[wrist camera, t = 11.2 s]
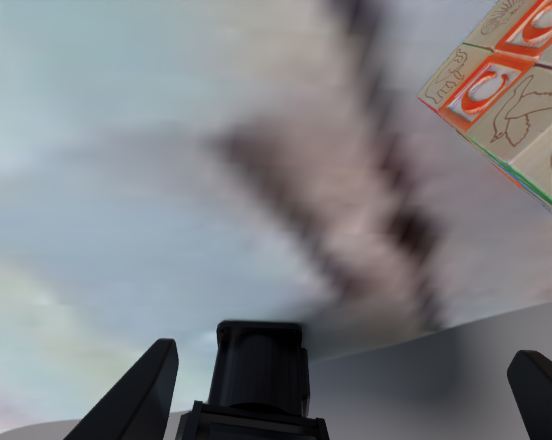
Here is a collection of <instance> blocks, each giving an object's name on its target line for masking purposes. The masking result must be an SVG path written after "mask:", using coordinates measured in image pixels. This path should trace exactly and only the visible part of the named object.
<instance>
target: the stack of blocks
mask: <svg viewBox="0 0 552 440" xmlns="http://www.w3.org/2000/svg"><path fill="white" fill-rule="evenodd" d="M417 98H418V99H420V100H421V101H422V102H423V103H425V104H426V105H427V106H428V107H429V108H431V109H432V110H433V111H434V112H435V113H437V114H438V115H439V116H440V117H441V118H443V119H444V120H445V121H446V122H447V123H449V124H450V125H451V126H452V127H453V128H455V129H456V133H457V134H459V135H460V136H461V137H462V138H463V139H464V140H466V141H467V142H468V143H469V144H470V145H471V146H473V147H474V148H475V149H476V150H477V151H478V152H480V153H481V154H482V155H483V156H484V157H485V158H487V159H488V160H489V161H490V162H491V163H492V164H493V165H495V166H496V167H497V168H498V169H499V170H500V171H502V172H503V173H504V174H505V175H506V176H507V177H509V178H510V179H511V180H512V181H513V182H514V183H516V184H517V185H518V186H519V187H520V188H521V189H523V190H524V191H526V192H527V193H528V194H529V195H531V196H532V197H533V198H535V199H536V200H537V201H539V202H540V203H541V204H542V205H543V206H544V207H545V208H546V209H548V210H549V211H550V212H551V213H552V0H500V1H499V2H498V3H497V4H496V5H495V6H494V8H493V9H492V10H491V11H490V12H489V13H488V14H487V16H486V17H485V18H484V19H483V20H482V21H481V22H480V24H479V25H478V26H477V27H476V28H475V29H474V30H473V31H472V33H471V34H470V35H469V36H468V37H467V38H466V39H465V41H464V42H463V44H461V45H460V46H459V47H458V48H457V49H456V50H455V51H454V52H453V53H452V54H451V56H450V57H449V58H448V59H447V60H446V61H445V62H444V63H443V65H442V66H441V67H440V68H439V69H438V70H437V72H436V73H435V74H434V75H433V76H432V77H431V79H430V80H429V81H428V82H427V83H426V85H425V86H424V87H423V88H422V90H421V91H420V92H419V94H418V95H417Z"/></svg>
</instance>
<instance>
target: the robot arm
mask: <svg viewBox="0 0 552 440" xmlns="http://www.w3.org/2000/svg"><path fill="white" fill-rule="evenodd" d="M294 331H297V332H294ZM216 332H217V343H218V352H217V357H216V362H215V367H214V372H213V378H212V383H211V388H210V393H209V398H208V403H207V404H206V403H203V401H196V400H195V401H194V405H193V409H192V411H190V412H188V413H186V414H184V415H181V418H180V423H179V427H178V431H177V434H176V438H175V440H330V439H329V435H328V431H327V427H326V423H325V420H324V419H323V418H316V419H312V418H306V417H307V416H308V411H309V402H310V385H309V370H308V355H307V350H306V349H305V348H302V347H301V341H302V328H301V327H300V326H299V325H287V324H255V323H219V324H218V326H217V331H216ZM178 365H179V359H178V353H177V347H176V342H175V340H174V339H167V338H161V339H158V340H157V341H156V342H155V343H154V344H153V345H152V346H151V347H150V348H149V349H148V350H147V351H146V352H145V353H144V354H143V355H142V357H141V358H140V359H139V360H138V361H137V362H136V363H135V364H134V365H133V366H132V367H131V368H130V369H129V370H128V371H127V372H126V373H125V374H124V376H123V377H122V378H121V379H120V380H119V381H118V382H117V383H116V384H115V385H114V386H113V387H112V388H111V389H110V390H109V391H108V392H107V394H106V395H105V396H104V397H103V398H102V399H101V400H100V401H99V402H98V403H97V404H96V405H95V406H94V407H93V408H92V409H91V410H90V412H89V413H88V414H87V415H86V416H85V417H84V418H83V419H82V420H81V421H80V422H79V423H78V424H77V425H76V426H75V427H74V429H73V430H72V431H71V432H70V433H69V434H68V435H67V436H66V437H65V438H64V439H63V440H163V437H164V434H165V430H166V426H167V421H168V417H169V412H170V407H171V402H172V397H173V392H174V386H175V381H176V376H177V371H178ZM507 377H508V381H509V384H510V386H511V389H512V392H513V395H514V397H515V400H516V403H517V406H518V408H519V411H520V414H521V416H522V419H523V422H524V425H525V427H526V430H527V432H528V435H529V437H530V440H552V361H551V360H549V359H548V358H546V357H545V356H544V355H542V354H541V353H539V352H537V351H533V350H520V351H518V352H517V353H516V355H515V357H514V358H513V360H512V362H511V364H510V366H509V367H508V370H507Z"/></svg>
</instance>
